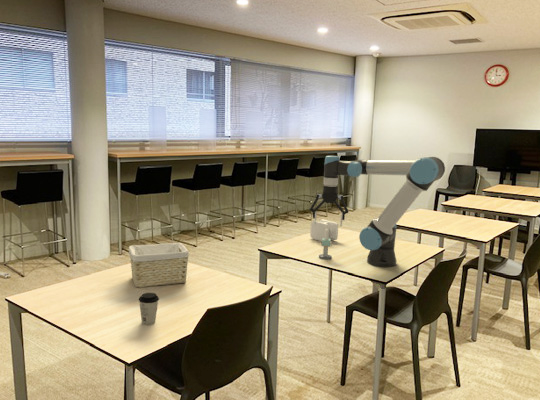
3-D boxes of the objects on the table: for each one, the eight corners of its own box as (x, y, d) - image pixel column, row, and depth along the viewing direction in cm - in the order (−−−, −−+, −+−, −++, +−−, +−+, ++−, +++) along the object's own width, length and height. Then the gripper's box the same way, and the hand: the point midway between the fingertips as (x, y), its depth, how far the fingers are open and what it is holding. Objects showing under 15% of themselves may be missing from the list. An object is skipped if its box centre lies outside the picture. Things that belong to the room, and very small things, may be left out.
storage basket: (132, 289, 200) (132, 255, 197) (127, 276, 215) (127, 244, 212) (189, 284, 209) (190, 251, 207) (181, 272, 224) (181, 241, 221)
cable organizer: (308, 238, 299) (309, 219, 297) (320, 236, 306) (321, 218, 304) (326, 243, 288) (327, 224, 286) (338, 241, 295) (339, 223, 293)
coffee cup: (142, 328, 165) (142, 300, 163) (135, 320, 170) (135, 293, 169) (161, 323, 169) (162, 296, 167) (154, 316, 175) (154, 290, 173)
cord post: (331, 256, 262) (333, 228, 259) (331, 260, 255) (333, 231, 252) (319, 255, 263) (321, 227, 260) (318, 259, 256) (320, 230, 253)
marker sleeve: (330, 244, 260) (330, 238, 259) (330, 246, 255) (330, 240, 255) (322, 243, 260) (322, 238, 260) (321, 245, 256) (322, 240, 255)
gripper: (354, 185, 254) (351, 225, 258) (307, 183, 257) (305, 222, 261) (354, 187, 247) (352, 228, 250) (306, 185, 250) (304, 225, 254)
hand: (328, 225), depth 256 cm, fingers open, 13 cm apart
